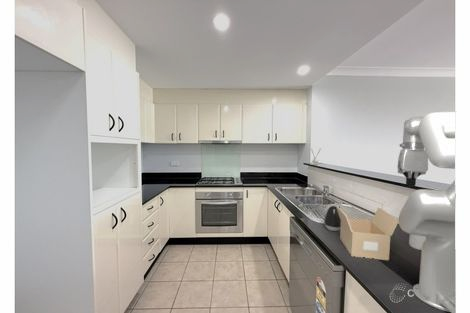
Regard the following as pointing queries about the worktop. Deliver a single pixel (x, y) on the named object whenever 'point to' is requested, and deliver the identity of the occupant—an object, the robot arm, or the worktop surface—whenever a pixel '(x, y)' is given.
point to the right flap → (385, 221)
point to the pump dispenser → (332, 219)
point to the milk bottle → (417, 241)
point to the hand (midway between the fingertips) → (410, 186)
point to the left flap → (344, 218)
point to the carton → (365, 239)
